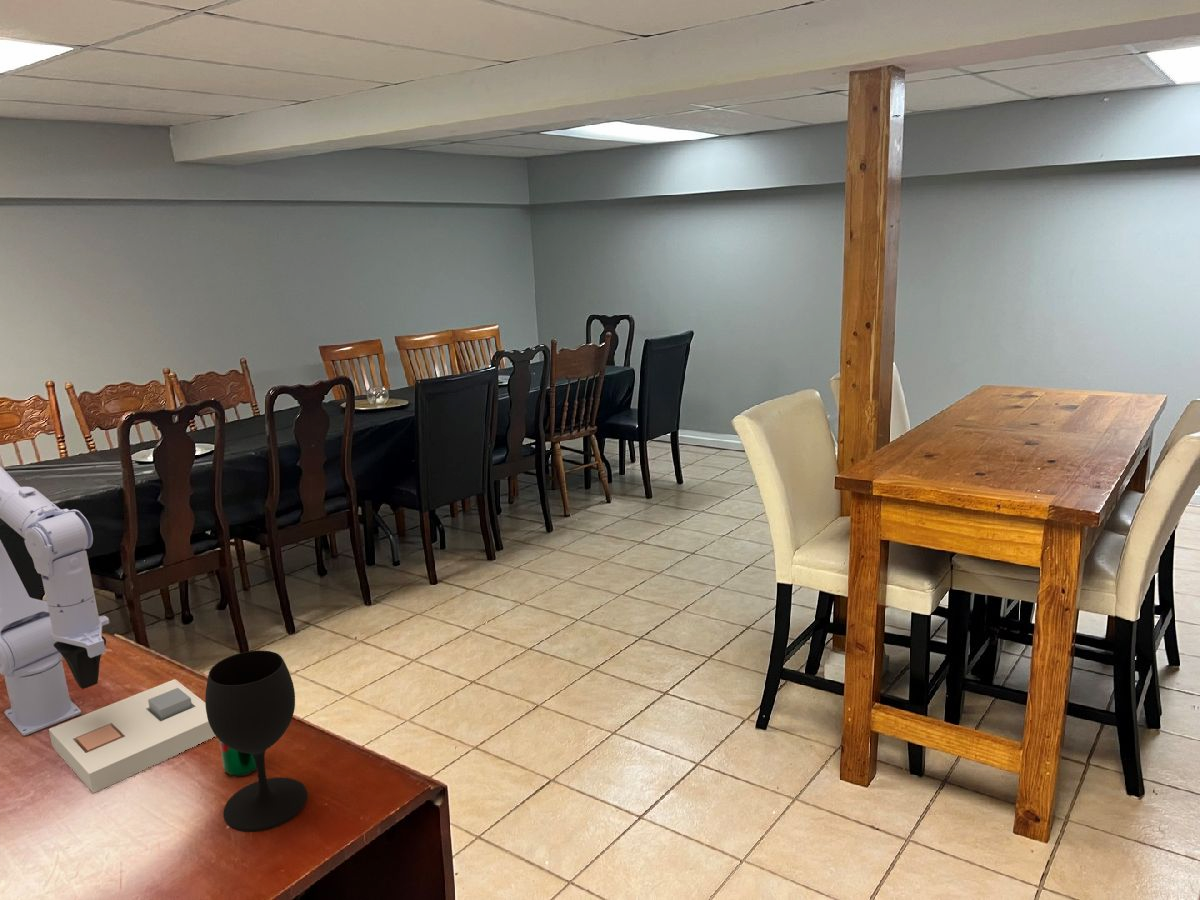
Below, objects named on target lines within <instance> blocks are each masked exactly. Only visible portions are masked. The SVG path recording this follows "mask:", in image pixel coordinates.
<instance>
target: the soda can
mask: <svg viewBox="0 0 1200 900" xmlns="http://www.w3.org/2000/svg"><path fill="white" fill-rule="evenodd" d="M218 740H219V739H218ZM219 747H220V753H221V759H222V766H223V769H224V770H223V771H225V772H226V773H227V774H229V775H231V776H233V777H240V776H241V777H242V776H245V775H248V774H251V773H253V772H254V771H257V768H256V764H255V760H254V757H253V755H252V754H248V753H243V752H239V751H236V750H234V749H232V748H230V747H228V746H226V745H225V744H224V743H222V742H221V741H220V740H219Z"/></svg>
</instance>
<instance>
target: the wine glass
mask: <svg viewBox="0 0 1200 900" xmlns="http://www.w3.org/2000/svg"><path fill="white" fill-rule="evenodd" d="M206 681H207V682H206V687H205V698H204V700H205V701H204V702H205V705H206V713H207V718H208V722H209V724H210V727H211V729H212V731H213V732H214V734H215V735H216V737H215V738H217V739H218V740H220V741H221V742H222V743H224V744H225V745H226V746H228V747H230V748H232V749H234V750H236V751H239V752H243V753H248V754H252V755H253V757H254V760H255V764H256V768H257V769H256V772H257V779H258V780H257V781H255V782H252V783H250V784H248V785H245V786H244V787H242V788H241V789H239V790H238V791H236V792H235V793H234V794H233V795H232V796H231V797H230V798H228V800H227V801H226V804H225V805H224V807H223V812H222V813H223V814H222V815H223V820H224V822H225V824H226V825H228V826H229V827H230V828H232V830H236V831H240V832H248V833H249V832H250V833H253V832H261V831H267V830H270V829H274V828H276V827H279V826H282V825H283V824H285V823H287V822H289V821H290V820H292V819H293V818H294V817H296V816H297V815H298V814H300V812H301V811H302V810H303V808H304V807H305V805H306V803H307V801H308V790H307V788H306V786H305V785H304V784H303V783H302V782H301V781H299V780H297V779H294V778H291V777H283V776H281V777H279V776H278V777H270V778H267V772H266V764H265V758H266V757H265V755H266V754H265V753H266V751H267V750H268V749H270V748H271V747H272V746H273V745H275V744H276V743H277V742H278V741H279V740H280V739H281V737H283V735H284V734H285V733H286V732H287V729H288V728H289V726H290V724H291V722H292V719H293V717H294V713H295V709H296V692H295V691H296V690H295V687H294V683H293V678H292V675H291V673H290V671H289V668H288V666H287V663H286V662H285V660H284V658H283V657H282V656H281V655H280V654H279V653H277V652H274V651H272V650H271V651H270V650H261V649H260V650H249V651H243V652H239V653H236V654H233V655H230V656H227V657H226V658H224V659H222V660H219V661H218V662H217V663H216V664H214V665H213V666H212V667H211V668H210V670H209V672H208V677H207V680H206ZM220 741H219V742H220Z"/></svg>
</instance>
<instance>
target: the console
mask: <svg viewBox="0 0 1200 900" xmlns="http://www.w3.org/2000/svg"><path fill="white" fill-rule="evenodd" d="M176 688H179V689H180V690H181V691H183V692H184V693H185V694H186V695H188V696H189V697H190V698H191V704H192V708H191V709H189V710H186V711H184V712H182V713H179V714H177V715H175V716H172V717H170V718H167V719H165V720H163V721H160V720H159V719H158V718H157V717H156V716H155V715H153V714H152V713H151V712H150V708H149V702H148V700H149V699H151V698H154V697H156V696H159V695H161V694H164V693H166V692H169V691H171V690H173V689H176ZM107 725H111V726H112V727H113V728H114V729H115V730H116V731H117V732H118V733H119V734H120V735H121V736H122V738H120V739H118V740H116V741H113V742H111V743H109V744H106V745H104V746H102V747H99V748H97V749H95V750H92V751H90V752H87V753H85V752H84V751H83V750H82V749H81V747H80V746H79V745H78V743H77V738H78V737H81V736H83V735H85V734H88V733H90V732H93V731H95V730H98V729H100V728H103V727H105V726H107ZM48 732H49V733H48V734H49V737H50V741H51V747H52V749H54V751H55V752H56V753H57V754H58V755H59V756H60V757H61V759H62V760H63V759H64V760H65V761H64V762H65V763H66V764H67V765H68V766H69V767H71V768H70V769H71V770H72V769H73V770H72V771H73V772H74V773H75V775H76V776H77V777H78V778H79V779H80V780H81V781H82V782H83V784H84V785H85V786H86V787H87V788H88V790H89V791H90V792H91V793H92V794H94V793H98V792H99V791H101V790H103V789H106V788H107V787H110V786H113V785H115V784H117V783H119V782H121V781H123V780H125V779H127V778H130V777H132V776H134V775H136V774H139V773H140V772H142V770H143V771H145V770H148V769H149V768H148V767H150V768H152V767H154V766H156V765H158V764H160V763H163V762H165V761H167V760H169V759H171V758H173V756H174V757H176V756H178V755H180V754H182V753H185V752H186V751H185V750H187V749H189V748H191V749H193V748H195V747H197V746H196V745H198V744H200V745H201V743H202V742H204V741H206V740H208V739H211V738H213V737H214V736H216V735H215V734H214V732H213V731H212V729H211V727H210V724H209V722H208V718H207V713H206V705H205V701H204V700H202V699H201V698H200V697H199V696H197V694H195V693H194V692H192V691H191V690H190V689H188V688H187V687H186V686H184V684H182V683H181V682H179V680H177V679H176V678H174V679H172V680H170V681H167V682H164V683H161V684H159V685H156V686H154V687H151V688H149V689H146V690H143V691H141V692H138V693H137V694H134V695H132V696H129V697H128V696H127V697H126V698H124V699H121V700H118V701H116V702H114V703H111V704H109V705H106V706H103V707H101V708H98V709H96V710H93V711H91V712H88V713H86V714H83V715H81V716H78V717H75V718H73V719H71V720H68V721H65V722H63V723H60V724H57V725H55V726H51V728H49V729H48ZM213 739H214V738H213ZM211 740H212V739H211ZM206 742H207V741H206ZM204 743H205V742H204ZM202 744H203V743H202ZM194 746H195V747H194ZM198 746H199V745H198ZM192 747H193V748H192ZM189 750H190V749H189ZM184 751H185V752H184ZM187 751H188V750H187ZM181 752H182V753H181ZM179 753H180V754H179ZM168 758H169V759H168ZM162 761H163V762H162ZM153 765H154V766H153ZM138 772H139V773H138Z"/></svg>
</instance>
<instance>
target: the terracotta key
mask: <svg viewBox="0 0 1200 900" xmlns="http://www.w3.org/2000/svg"><path fill="white" fill-rule="evenodd" d="M120 738H122V736H121V735H120V734H119V733H118V732H117V731H116V730H115V729H114V728H113V727H112V726H111V725H107V726H105V727H103V728H100V729H98V730H95V731H93V732H90V733H88V734H85V735H83V736H81V737H78V738H77V743H78V745H79V746H80V747H81V749H82V750H83V751H84V752H85V753H87V752H90V751H92V750H95V749H97V748H99V747H102V746H104V745H106V744H109V743H111V742H113V741H116V740H118V739H120Z"/></svg>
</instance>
